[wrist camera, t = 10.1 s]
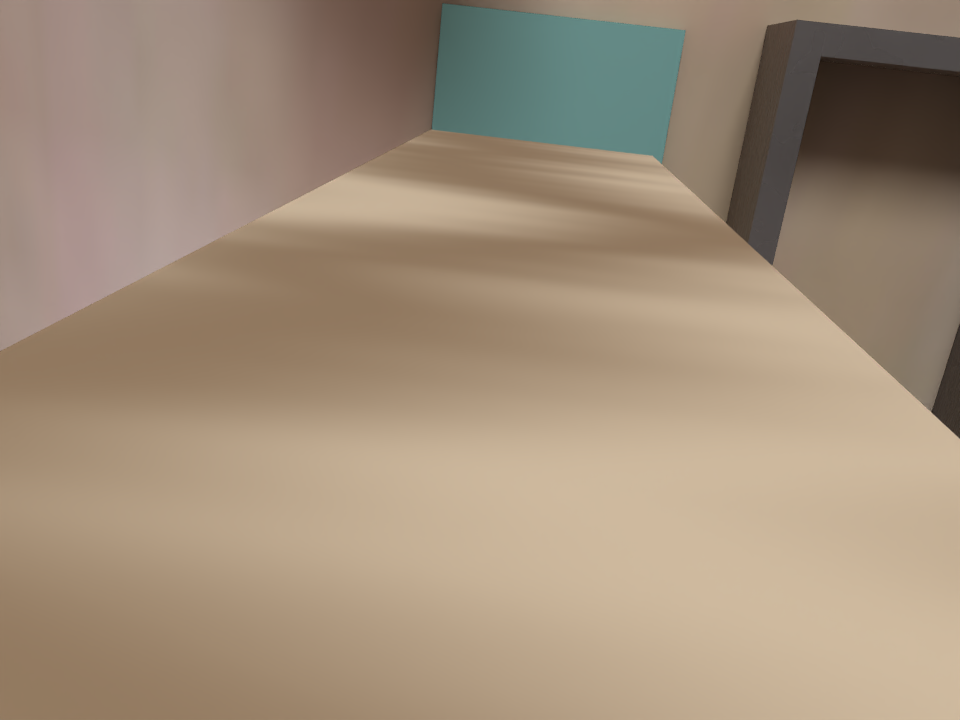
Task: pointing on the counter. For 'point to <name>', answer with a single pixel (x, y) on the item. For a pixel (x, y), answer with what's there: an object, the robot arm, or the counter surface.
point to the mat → (556, 79)
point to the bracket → (783, 120)
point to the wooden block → (472, 470)
